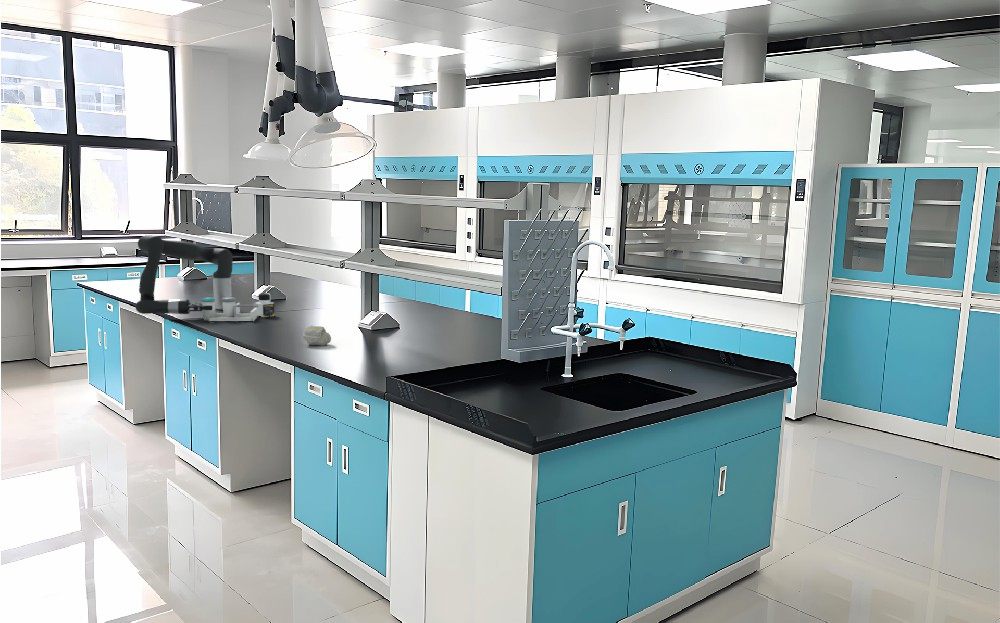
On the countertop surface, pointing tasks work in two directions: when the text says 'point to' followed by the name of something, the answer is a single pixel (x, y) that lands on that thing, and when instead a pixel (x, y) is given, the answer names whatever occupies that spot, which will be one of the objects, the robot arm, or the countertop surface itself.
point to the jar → (208, 302)
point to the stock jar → (228, 306)
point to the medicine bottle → (265, 305)
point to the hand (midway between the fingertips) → (213, 306)
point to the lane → (243, 317)
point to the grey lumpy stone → (316, 335)
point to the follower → (237, 308)
